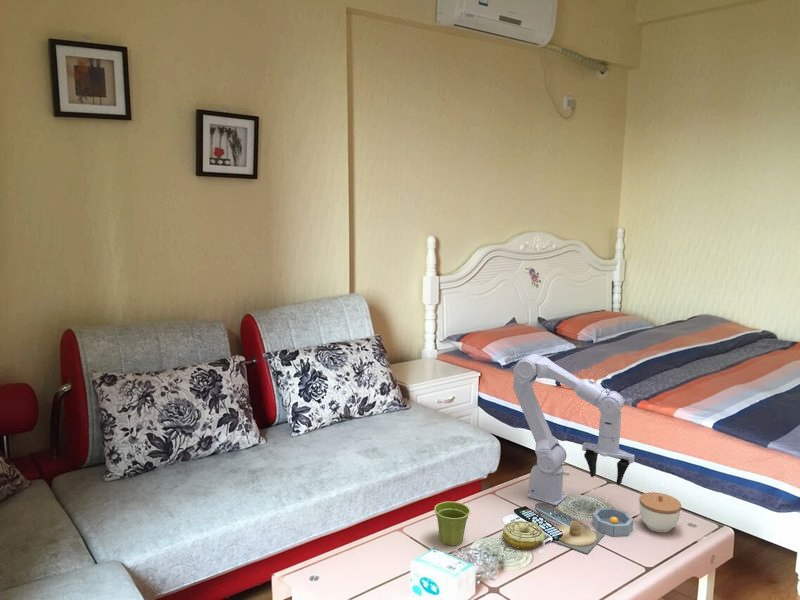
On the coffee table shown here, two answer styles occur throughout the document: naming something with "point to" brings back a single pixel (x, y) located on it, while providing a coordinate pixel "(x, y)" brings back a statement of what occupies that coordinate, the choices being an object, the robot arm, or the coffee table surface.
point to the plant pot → (451, 521)
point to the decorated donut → (523, 534)
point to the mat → (585, 548)
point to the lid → (577, 534)
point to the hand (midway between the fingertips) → (605, 479)
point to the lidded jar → (659, 511)
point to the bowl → (612, 521)
